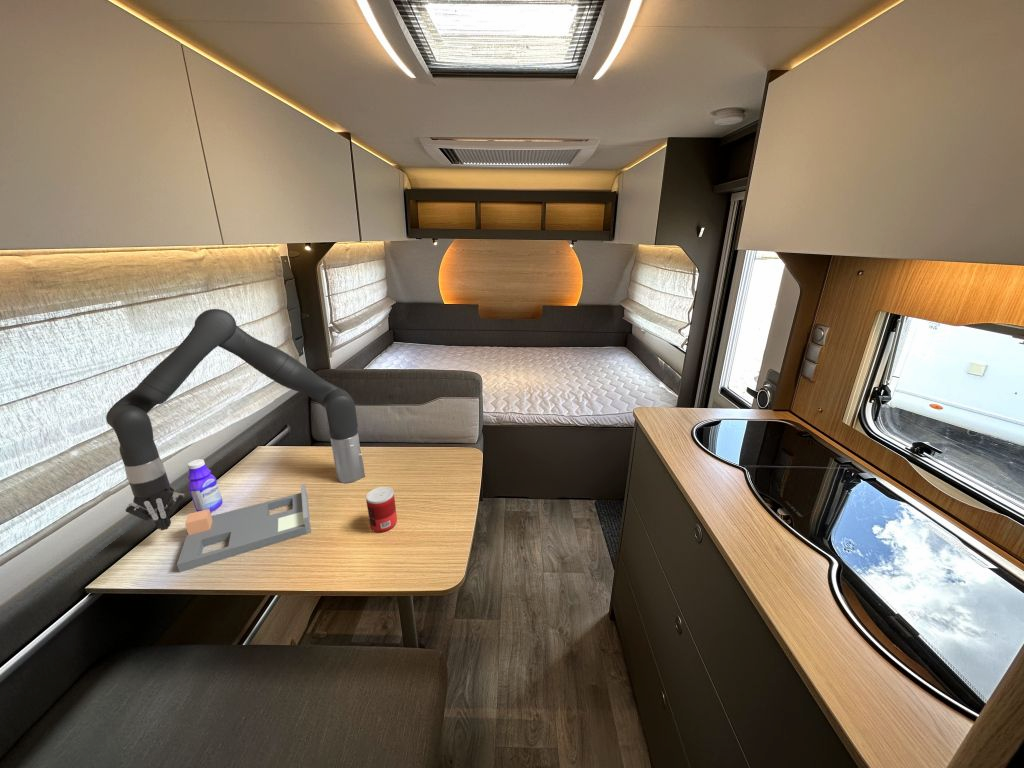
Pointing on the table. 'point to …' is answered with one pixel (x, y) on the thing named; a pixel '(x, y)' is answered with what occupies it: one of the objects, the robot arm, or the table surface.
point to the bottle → (203, 487)
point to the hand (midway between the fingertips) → (165, 528)
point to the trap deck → (247, 530)
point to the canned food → (381, 509)
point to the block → (198, 521)
